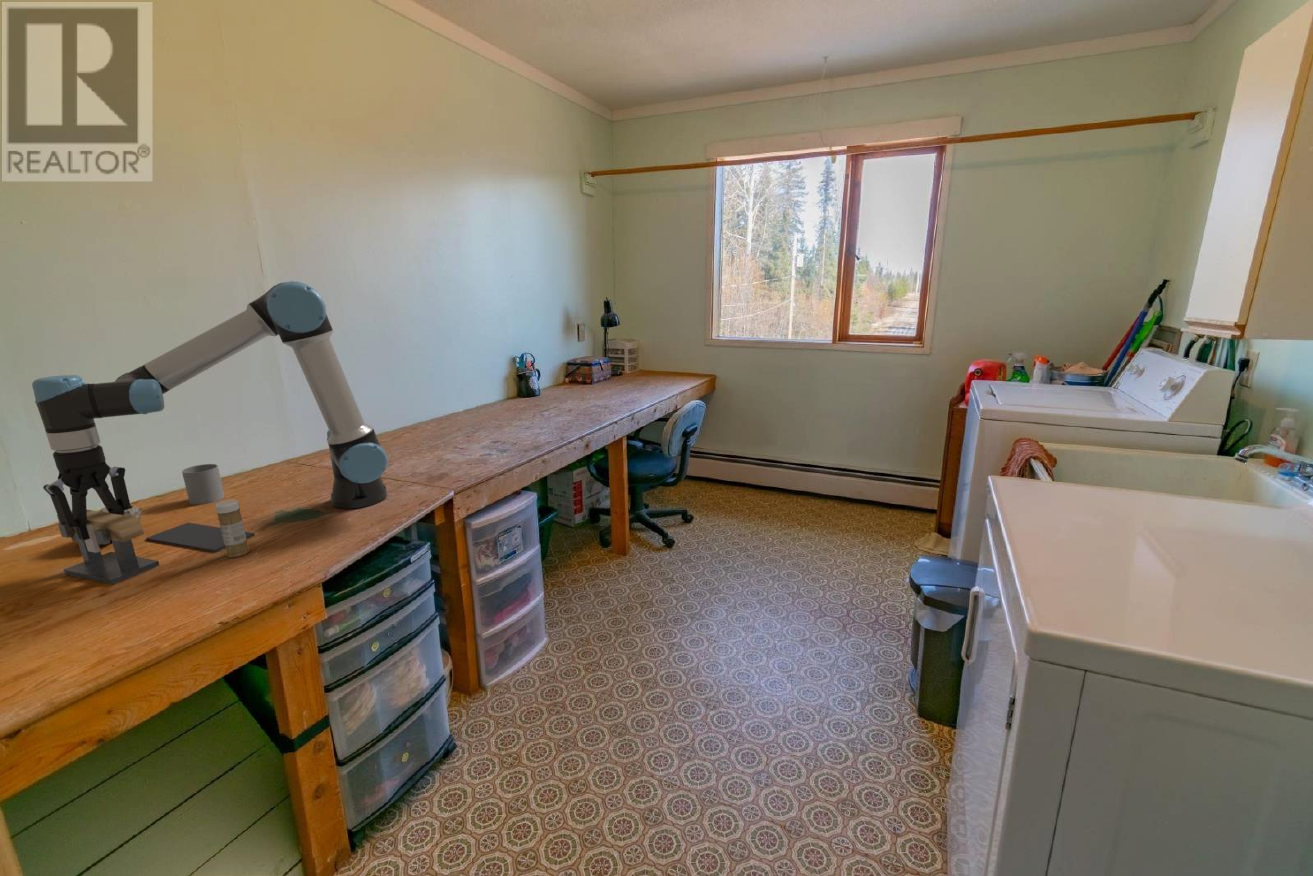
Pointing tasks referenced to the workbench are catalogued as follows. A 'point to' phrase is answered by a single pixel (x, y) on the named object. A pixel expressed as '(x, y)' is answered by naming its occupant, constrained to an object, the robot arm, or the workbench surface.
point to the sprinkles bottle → (232, 528)
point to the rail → (114, 525)
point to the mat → (194, 537)
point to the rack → (107, 560)
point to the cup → (203, 484)
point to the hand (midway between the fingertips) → (106, 546)
